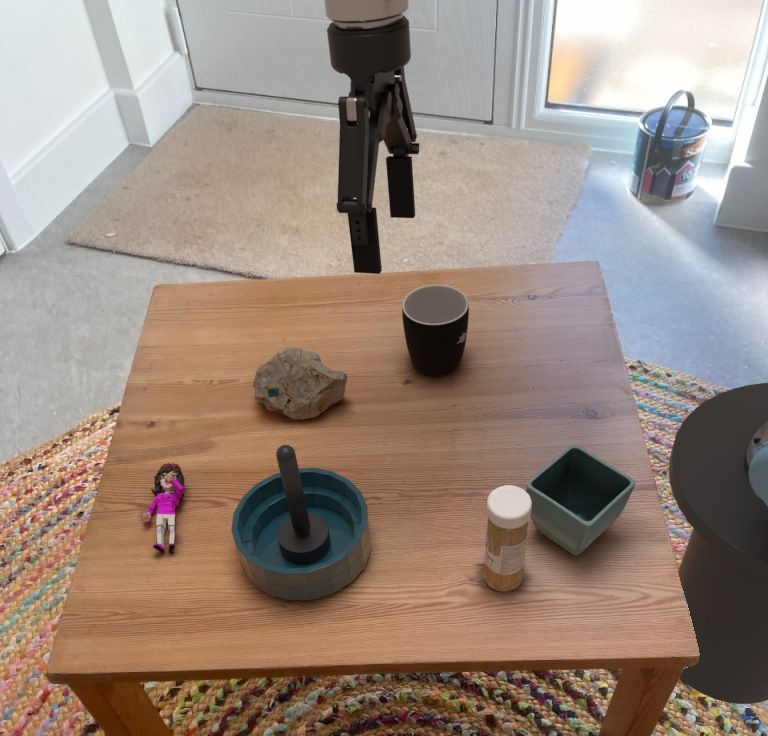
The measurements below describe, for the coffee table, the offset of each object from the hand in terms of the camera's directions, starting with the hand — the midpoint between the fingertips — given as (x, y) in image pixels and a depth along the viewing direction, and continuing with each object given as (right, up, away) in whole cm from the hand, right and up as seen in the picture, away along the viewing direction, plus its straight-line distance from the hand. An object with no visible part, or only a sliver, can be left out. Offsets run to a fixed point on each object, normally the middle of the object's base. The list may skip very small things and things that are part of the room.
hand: (386, 243), depth 90 cm
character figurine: (-27, -30, +15) cm, 43 cm away
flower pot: (+22, -31, +9) cm, 39 cm away
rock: (-11, -15, +26) cm, 32 cm away
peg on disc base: (-10, -33, +9) cm, 35 cm away
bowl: (-9, -33, +10) cm, 36 cm away
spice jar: (+13, -36, +6) cm, 39 cm away
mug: (+7, -7, +31) cm, 32 cm away
